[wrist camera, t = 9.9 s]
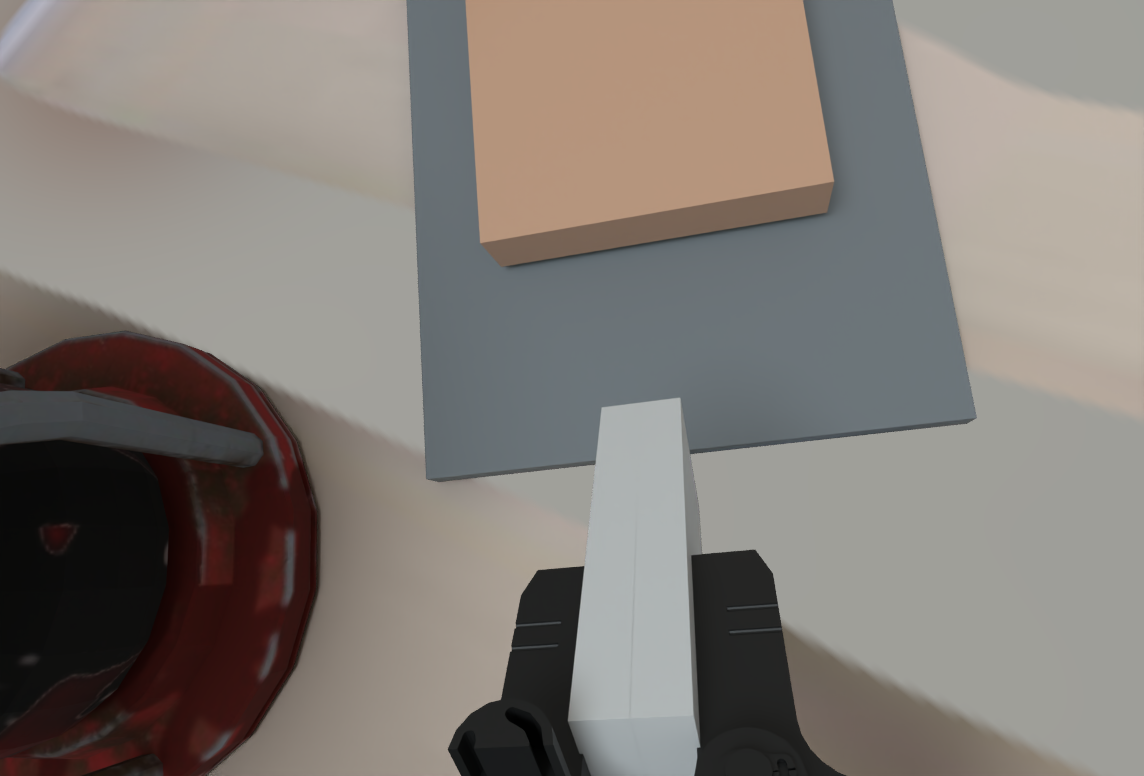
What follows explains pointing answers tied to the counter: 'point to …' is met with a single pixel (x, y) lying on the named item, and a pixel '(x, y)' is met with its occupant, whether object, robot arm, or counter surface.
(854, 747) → the counter surface
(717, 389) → the mat
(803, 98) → the tile
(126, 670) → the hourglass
